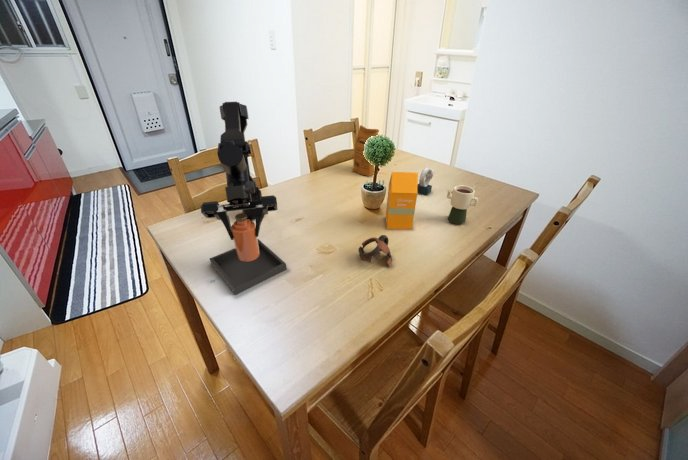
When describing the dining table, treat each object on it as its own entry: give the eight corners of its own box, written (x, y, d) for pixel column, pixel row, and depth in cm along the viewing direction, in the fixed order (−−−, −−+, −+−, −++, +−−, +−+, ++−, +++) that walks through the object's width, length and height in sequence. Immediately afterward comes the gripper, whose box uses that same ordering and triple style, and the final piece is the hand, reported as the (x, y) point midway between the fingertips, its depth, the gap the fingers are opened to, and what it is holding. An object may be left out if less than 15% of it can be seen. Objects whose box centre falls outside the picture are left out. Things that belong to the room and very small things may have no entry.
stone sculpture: (432, 190, 135) (437, 167, 129) (425, 197, 129) (429, 172, 123) (421, 187, 137) (424, 164, 131) (413, 193, 132) (416, 169, 126)
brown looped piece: (389, 275, 88) (376, 256, 84) (363, 275, 94) (350, 257, 90) (401, 245, 95) (390, 226, 91) (376, 247, 101) (364, 229, 97)
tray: (211, 265, 90) (209, 258, 88) (259, 245, 98) (257, 238, 97) (236, 296, 79) (234, 288, 78) (286, 271, 88) (286, 263, 86)
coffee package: (363, 165, 159) (365, 122, 147) (381, 172, 151) (384, 127, 139) (349, 170, 153) (350, 126, 141) (367, 178, 145) (370, 131, 133)
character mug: (474, 222, 112) (483, 190, 105) (467, 230, 108) (476, 197, 101) (445, 212, 118) (452, 182, 111) (438, 220, 113) (445, 188, 106)
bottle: (233, 254, 83) (224, 215, 76) (253, 245, 87) (246, 207, 80) (243, 264, 80) (235, 225, 73) (264, 255, 83) (257, 216, 76)
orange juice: (385, 217, 114) (390, 167, 103) (408, 218, 114) (416, 168, 103) (387, 229, 108) (392, 176, 97) (411, 229, 107) (420, 177, 96)
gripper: (192, 173, 71) (197, 237, 69) (272, 166, 76) (280, 226, 73) (204, 189, 82) (209, 245, 79) (273, 182, 86) (281, 235, 83)
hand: (244, 238), depth 78 cm, fingers closed on bottle, 6 cm apart
